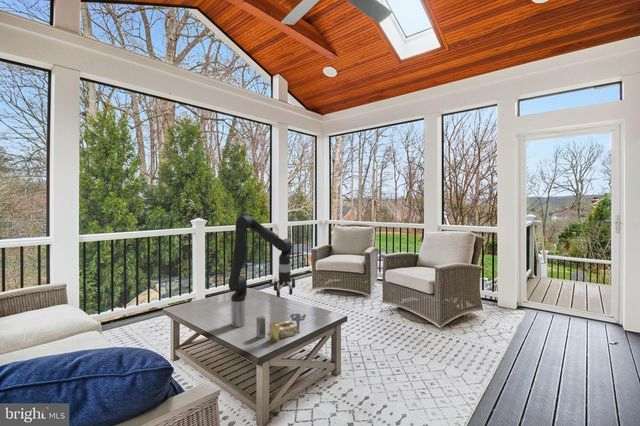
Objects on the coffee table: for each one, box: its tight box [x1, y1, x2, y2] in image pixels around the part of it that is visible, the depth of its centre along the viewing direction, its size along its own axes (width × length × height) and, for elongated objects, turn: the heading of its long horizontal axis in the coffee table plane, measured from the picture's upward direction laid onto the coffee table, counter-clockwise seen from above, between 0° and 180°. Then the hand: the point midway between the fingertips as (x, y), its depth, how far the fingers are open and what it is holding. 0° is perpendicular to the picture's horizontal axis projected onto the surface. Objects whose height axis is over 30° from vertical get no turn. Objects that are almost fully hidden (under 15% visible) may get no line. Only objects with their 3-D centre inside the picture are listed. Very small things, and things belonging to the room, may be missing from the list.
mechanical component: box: [289, 313, 307, 331], centre depth 209 cm, size 3×10×10 cm, turn 94°
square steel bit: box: [256, 316, 266, 339], centre depth 197 cm, size 4×4×12 cm
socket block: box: [278, 319, 298, 340], centre depth 203 cm, size 12×12×5 cm
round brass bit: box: [269, 321, 281, 343], centre depth 193 cm, size 6×6×10 cm
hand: (284, 295), depth 202 cm, fingers open, 8 cm apart
